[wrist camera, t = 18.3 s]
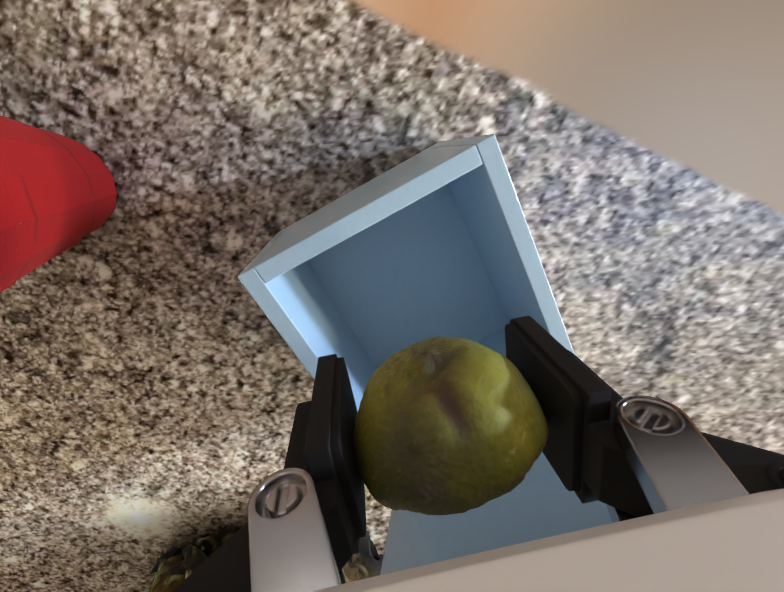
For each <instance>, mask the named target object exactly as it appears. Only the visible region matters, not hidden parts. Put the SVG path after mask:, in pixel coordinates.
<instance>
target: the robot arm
mask: <svg viewBox="0 0 784 592" xmlns="http://www.w3.org/2000/svg"><path fill="white" fill-rule="evenodd" d="M505 344H506V358H507V359H508V360H510V361H511V362H512V363H513V364H514V365H515V366H516V367H517V369H518V370H519V371H520V373H521V374H522V375H523V377H524V378H525V380H526V381H527V383H528V384H529V386H530V387H531V389H532V391H533V393H534V394H535V396H536V397H537V400H538V401H539V404H540V406H541V408H542V411H543V413H544V416H545V418H546V422H547V425H548V438H547V441H546V445H545V447H544V448H543V451H542V452H543V454H544V455H545V457H546V458H547V460H548V462H549V463H550V465H551V466H552V468H553V469H554V471H555V472H556V474H557V476H558V477H559V479H560V480H561V482H562V483H563V485H564V486H565V488H566V489H567V490H568V491H574V492H575V493H576V495H577V496H578V498H579V499H580V501H581V503H582V504H584V503H588V502H593V501H598V500H599V501H600V502H603V503H605V504H607V508H608V512H609V515H610V517H611V520H612V522H613V523H610V524H606V525H601V526H596V527H592V528H587V529H583V530H578V531H574V532H569V533H565V534H560V535H556V536H551V537H547V538H542V539H538V540H533V541H529V542H524V543H520V544H515V545H511V546H506V547H502V548H498V549H493V550H489V551H484V552H480V553H475V554H471V555H466V556H462V557H457V558H453V559H449V560H444V561H440V562H436V563H431V564H427V565H423V566H418V567H414V568H410V569H405V570H401V571H397V572H392V573H388V574H383V575H379V576H375V577H370V578H366V579H362V580H357V581H353V582H349V583H347V581H346V578H345V574H344V571H343V567H344V566H345V565H346V563H347V562H348V561H349V559H350V558H351V557H352V556H353V554H357V553H360V552H359V538H361V537H365V536H366V513H365V489H364V481H363V479H362V477H361V475H360V473H359V470H358V467H357V463H356V459H355V453H354V448H353V432H354V428H355V421H356V417H357V413H358V411H357V407H356V403H355V399H354V395H353V391H352V387H351V383H350V379H349V375H348V371H347V367H346V363H345V360H344V357H340V358H338V357H337V354H332V355H327V356H322V357H318V362H317V369H316V375H315V381H314V388H313V394H312V401H308V402H303V403H299V404H298V405H297V409H296V413H295V418H294V423H293V428H292V432H291V437H290V442H289V447H288V451H287V456H286V461H285V466H284V469H283V470H279V471H277V472H275V473H273V474H271V475H270V476H268V477H267V478H266V479H264V480H263V481H262V482H261V483H260V484H259V485H258V486H257V488H256V489H255V490H254V491H253V493H252V495H251V497H250V499H249V503H248V522H247V523H246V524H244V525H243V526H242V527H241V528H240V529H239V530H238V531H237V532H236V533H235V534H234V535H232V536H231V537H230V538H229V539H228V540H227V541H226V542H225V543H224V544H223V545H222V546H221V547H219V548H218V549H217V550H216V551H215V552H214V553H213V554H212V555H211V556H210V557H209V558H207V559H206V560H205V561H204V562H203V563H202V564H201V565H200V566H199V567H198V568H197V569H196V570H194V571H193V572H192V573H191V574H190V575H189V576H188V577H187V578H186V579H185V580H184V581H182V582H181V583H180V584H179V585H178V586H177V587H176V588H175V589H174V590H173V591H172V592H784V455H782V454H779V453H775V452H771V451H768V450H764V449H761V448H757V447H753V446H750V445H746V444H743V443H739V442H735V441H732V440H728V439H724V438H721V437H717V436H714V435H710V434H706V433H703V432H700V431H699V429H698V428H697V427H696V426H695V424H694V423H693V422H692V421H691V419H690V418H689V417H688V416H687V415H686V414H685V413H684V412H683V411H682V410H681V409H680V408H678V407H676V406H675V405H673V404H672V403H669V402H667V401H664V400H662V399H659V398H654V397H650V396H639V395H638V396H629V397H626V398H622V397H621V396H620V395H619V394H618V393H617V392H615V391H614V390H613V389H612V388H611V387H610V386H609V385H608V384H607V383H605V382H604V381H603V380H602V379H601V378H600V377H599V376H598V375H597V374H595V373H594V372H593V371H592V370H591V369H590V368H589V367H588V366H587V365H585V364H584V363H583V362H582V361H581V360H580V359H579V358H578V357H577V356H575V355H574V354H573V353H572V352H571V351H569V350H567V349H566V348H565V347H564V346H562V345H561V344H560V343H559V342H558V341H557V340H556V339H555V338H554V337H553V336H551V335H550V334H549V333H548V332H547V331H546V330H545V329H544V328H543V327H542V326H540V325H539V324H538V323H537V322H536V321H535V320H534V319H533V318H532V317H530V316H523V317H518V318H513V319H511V320H510V323H509V324H506V325H505Z"/></svg>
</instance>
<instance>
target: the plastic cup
mask: <svg viewBox="0 0 784 592" xmlns="http://www.w3.org/2000/svg"><path fill="white" fill-rule="evenodd" d="M116 198H117V190H116V187H115V183H114V180H113V176H112V174H111V172H110V171H109V170H108V168H107V167H106V165H105V164H104V163H103V161H102V160H101V158H100V157H99V156H97V155H96V154H95V153H93V152H92V151H91V150H89V149H88V148H87V147H86V146H84V145H83V144H81V143H78V142H77V141H76V140H73V139H70V138H67V137H65V136H62V135H59V134H56V133H53V132H50V131H46V130H43V129H39V128H36V127H33V126H30V125H27V124H24V123H22V122H19V121H16V120H13V119H10V118H7V117H3V116H0V292H2V291H3V290H5V289H7V288H9V287H10V286H12V285H14V284H15V282H16V281H17V280H18V279H20V278H21V277H23V276H24V275H26V274H28V273H29V272H31V271H33V270H34V269H36V268H37V267H39V266H41V265H42V264H44V263H46V262H47V261H49V260H51V259H52V258H54V257H55V256H57V255H59V254H60V253H62V252H64V251H65V250H67V249H68V248H70V247H72V246H73V245H75V244H77V243H78V242H80V241H81V240H82V238H83V237H84V236H86V235H88V234H89V233H91V232H93V231H94V230H96V229H98V228H99V227H101V226H102V225H103V224H104V223H105V222H106V221H107V219H108V218H109V216H110V215H111V214H112V212H113V211H114V210H115V205H116Z"/></svg>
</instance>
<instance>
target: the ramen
mask: <svg viewBox="0 0 784 592" xmlns="http://www.w3.org/2000/svg"><path fill="white" fill-rule="evenodd" d="M235 533H236V531H234V530H231V529H228V528H223V527H219V532H218V533H217V534H212V535H209V536H207V537H205V538H200V539H197V538H193V544H192V545H190V544H189V545H188V546H184V547H180V548H177V547H175V546H171V547H170V549H169V550H168V551H167V552H166V554H165V553H164V552H163V550H162V553H161V556H160V558H159V557H158V558H157V563H156V565H155V567H154V569H153V570H152V571H151V574H154V580H153V583H152V584H151V585H150V587H149V588H148V589H147V591H146V592H172V591H173V590H174V589H175V588H176V587H177V586H178V585H179V584H180V583H181V582H182V581H184V580H185V579H186V578H187V577H188V576H189V575H190V574H191V573H192V572H193V571H194V570H196V569H197V568H198V567H199V566H200V565H201V564H202V563H203V562H204V561H205V560H206V559H207V558H209V557H210V556H211V555H212V554H213V553H214V552H215V551H216V550H217V549H218V548H219V547H221V546H222V545H223V544H224V543H225V542H226V541H227V540H228V539H229V538H230V537H231V536H232V535H234V534H235ZM359 552H360V553H357V554H353V556H352V557H351V558H350V559H349V561H348V562H347V563H346V565H345V566H344V567H343V571H344V574H345V578H346V581H347V583H349V582H353V581H357V580H362V579H366V578H370V577H375V576H379V575H380V572H381V567H382V561H383V554H382V555H378V553H377V551H376V548H375V546H374V544H373V542H372V541H371V539H370V537H369V533H367V532H366V536H365V537H361V538H359Z"/></svg>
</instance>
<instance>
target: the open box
mask: <svg viewBox="0 0 784 592" xmlns="http://www.w3.org/2000/svg"><path fill="white" fill-rule="evenodd" d="M237 278H238V279H239V280H240V282H241V283H242V284H243V286H244V287H245V288H246V290H247V291H248V292H249V294H250V295H251V296H252V298H253V299H254V300H255V302H256V303H257V304H258V306H259V307H260V308H261V310H262V311H263V312H264V314H265V315H266V316H267V318H268V319H269V320H270V322H271V323H272V324H273V326H274V327H275V328H276V330H277V331H278V332H279V334H280V335H281V336H282V338H283V339H284V340H285V342H286V343H287V344H288V346H289V347H290V348H291V350H292V351H293V352H294V354H295V355H296V356H297V358H298V359H299V360H300V362H301V363H302V364H303V366H304V367H305V368H306V370H307V371H308V372H309V374H310V375H311V376H312V378H313V379H314V380H315V375H316V369H317V362H318V357H322V356H327V355H332V354H337V357H338V358H340V357H344V360H345V363H346V367H347V371H348V375H349V379H350V383H351V387H352V391H353V395H354V399H355V403H356V407H357V411H358V410H359V406H360V402H361V400H362V397H363V393H364V391H365V389H366V386H367V383H368V381H369V379H370V377H371V376H372V375H373V373H374V372H375V371H376V369H377V368H378V367H380V366H381V364H383V363H384V362H385V361H386V360H387V359H388V358H389V357H390V356H391V355H393V354H395V353H397V352H399V351H401V350H403V349H405V348H407V347H408V346H409V345H412V344H414V343H416V342H420V341H422V340H424V339H429V338H432V337H437V336H439V337H441V336H443V337H457V338H459V337H462V338H465V339H469V340H472V341H475V342H477V343H479V344H482V345H484V346H486V347H488V348H490V349H492V350H494V351H496V352H498V353H500V354H501V355H503V356H505V357H506V344H505V325H506V324H509V323H510V320H511V319H513V318H518V317H523V316H530V317H532V318H533V319H534V320H535V321H536V322H537V323H538V324H539V325H540V326H542V327H543V328H544V329H545V330H546V331H547V332H548V333H549V334H550V335H551V336H553V337H554V338H555V339H556V340H557V341H558V342H559V343H560V344H561V345H562V346H564V347H565V348H566V349H567V350H569V351H571V352H572V353H573V354H574V351H573V348H572V346H571V343H570V340H569V337H568V335H567V332H566V329H565V326H564V324H563V321H562V318H561V315H560V313H559V310H558V307H557V304H556V302H555V299H554V296H553V293H552V291H551V288H550V285H549V282H548V280H547V277H546V274H545V271H544V269H543V266H542V263H541V260H540V258H539V255H538V252H537V249H536V247H535V244H534V241H533V238H532V236H531V233H530V230H529V227H528V225H527V222H526V219H525V216H524V214H523V211H522V208H521V205H520V203H519V200H518V197H517V194H516V192H515V189H514V186H513V183H512V181H511V178H510V175H509V172H508V170H507V167H506V164H505V161H504V159H503V156H502V153H501V150H500V148H499V145H498V142H497V139H496V137H495V135H494V134H491V135H484V136H476V137H469V138H461V139H454V140H447V141H440V142H438V143H436V144H434V145H432V146H431V147H429V148H427V149H425V150H423V151H422V152H420V153H418V154H416V155H415V156H413V157H411V158H409V159H407V160H406V161H404V162H402V163H400V164H398V165H397V166H395V167H393V168H391V169H390V170H388V171H386V172H384V173H382V174H381V175H379V176H377V177H375V178H373V179H372V180H370V181H368V182H366V183H365V184H363V185H361V186H359V187H357V188H356V189H354V190H352V191H350V192H348V193H347V194H345V195H343V196H341V197H340V198H338V199H336V200H334V201H332V202H331V203H329V204H327V205H325V206H324V207H322V208H320V209H318V210H316V211H315V212H313V213H311V214H309V215H307V216H306V217H304V218H302V219H300V220H299V221H297V222H295V223H293V224H291V225H290V226H288V227H286V228H284V229H282V230H281V231H279V232H278V233H277V234H276V235H275V236H274V237H273V238H272V239H271V240H270V241H269V242H268V243H267V245H266V246H265V247H264V248H263V249H262V250H261V251H260V252H259V253H258V254H257V255H256V256H255V258H254V259H253V260H252V261H251V262H250V263H249V264H248V265H247V266H246V267H245V268H244V270H243V271H242V272H241V273H240V274H239V275H238V276H237ZM574 355H575V354H574Z"/></svg>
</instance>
